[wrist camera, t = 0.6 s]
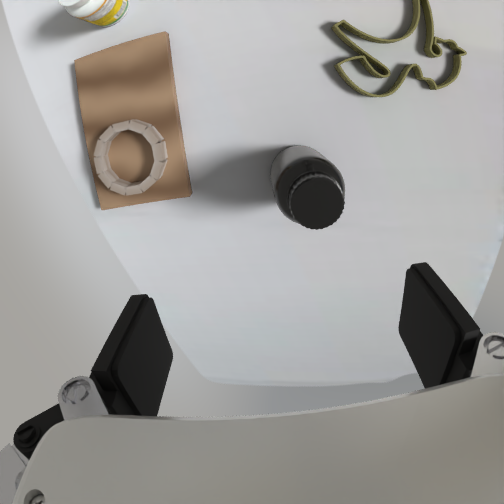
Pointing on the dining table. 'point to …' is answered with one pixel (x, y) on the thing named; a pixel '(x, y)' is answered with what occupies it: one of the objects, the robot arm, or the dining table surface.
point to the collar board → (128, 99)
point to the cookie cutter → (428, 47)
